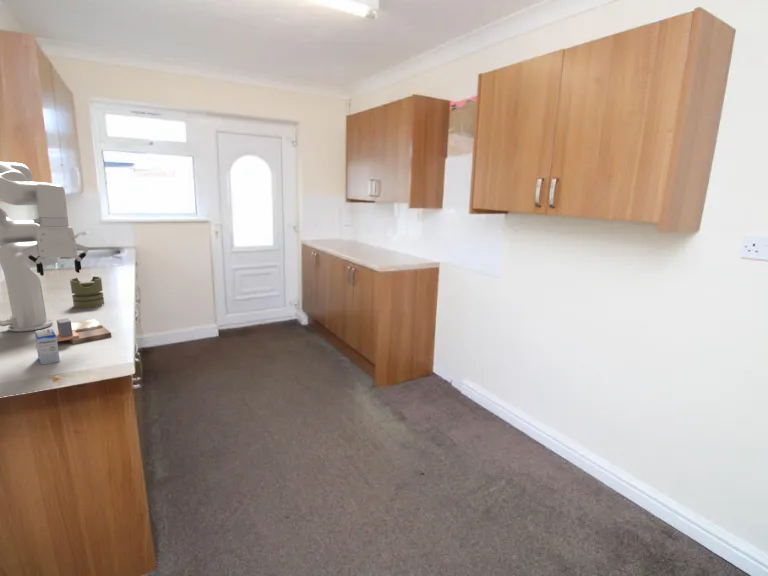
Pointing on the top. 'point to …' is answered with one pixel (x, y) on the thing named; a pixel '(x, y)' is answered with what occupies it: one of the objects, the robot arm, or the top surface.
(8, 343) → the top surface
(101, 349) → the top surface
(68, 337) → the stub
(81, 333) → the board
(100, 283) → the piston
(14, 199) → the robot arm
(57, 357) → the medicine box
